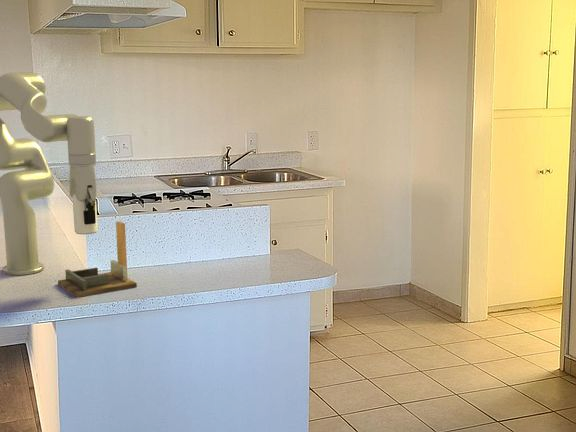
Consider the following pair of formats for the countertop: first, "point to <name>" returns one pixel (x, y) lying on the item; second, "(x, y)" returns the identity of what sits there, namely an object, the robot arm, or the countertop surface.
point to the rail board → (113, 286)
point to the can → (82, 218)
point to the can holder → (86, 278)
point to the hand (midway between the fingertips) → (85, 221)
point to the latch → (120, 253)
